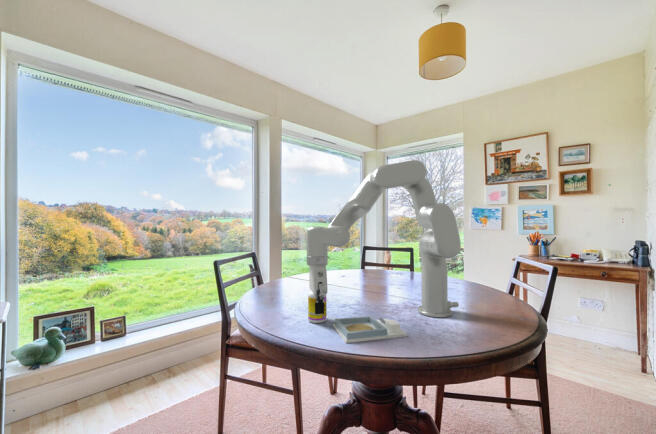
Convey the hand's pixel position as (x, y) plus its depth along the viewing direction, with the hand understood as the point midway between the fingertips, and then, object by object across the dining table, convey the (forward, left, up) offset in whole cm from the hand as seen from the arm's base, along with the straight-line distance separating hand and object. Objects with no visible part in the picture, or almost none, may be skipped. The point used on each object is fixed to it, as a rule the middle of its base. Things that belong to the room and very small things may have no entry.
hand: (317, 310), depth 105 cm
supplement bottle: (0, 0, -4) cm, 4 cm away
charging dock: (-14, +14, -4) cm, 20 cm away
